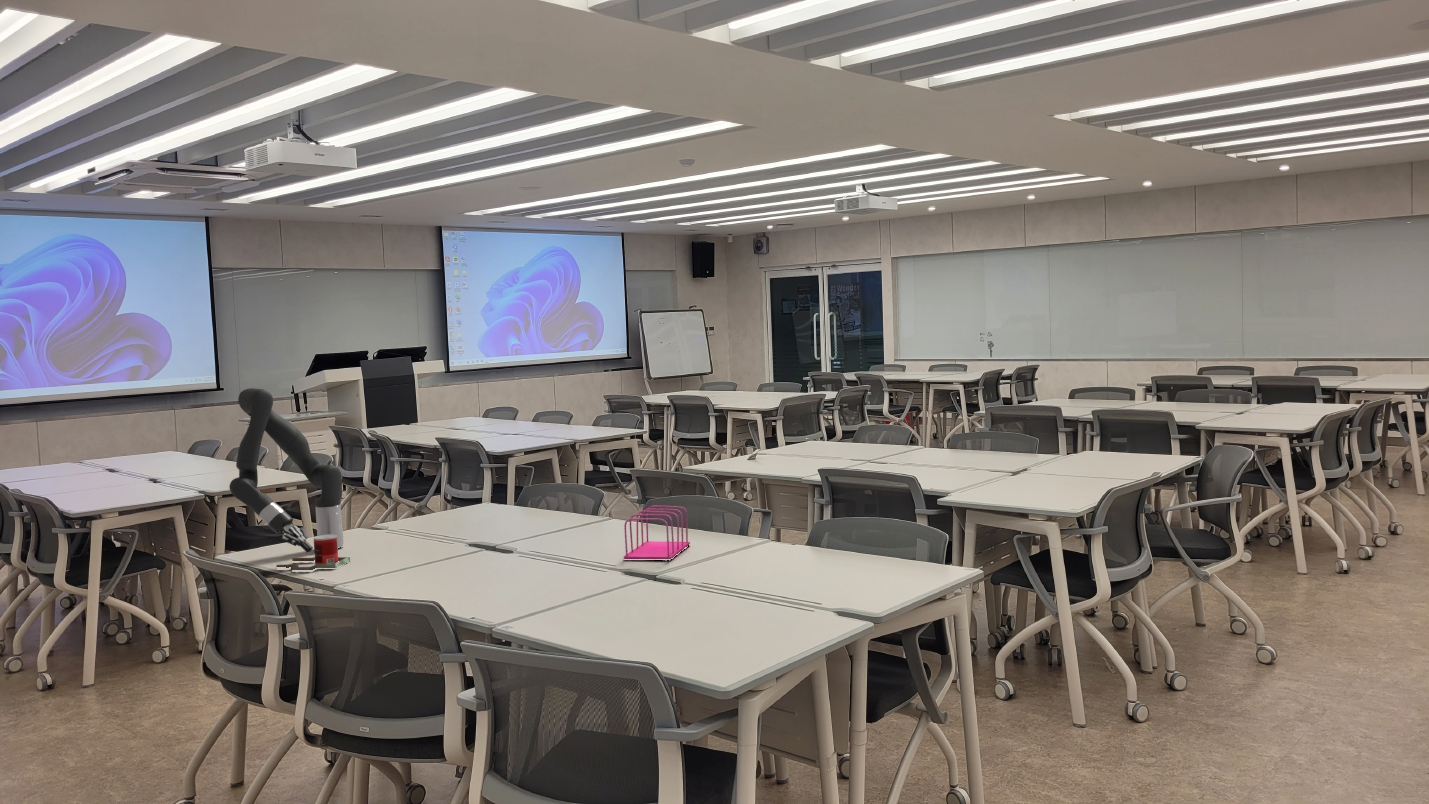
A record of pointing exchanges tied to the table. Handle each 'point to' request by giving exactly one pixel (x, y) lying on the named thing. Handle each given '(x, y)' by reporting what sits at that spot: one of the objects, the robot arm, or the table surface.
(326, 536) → the canned food
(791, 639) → the table surface
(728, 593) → the table surface
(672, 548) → the file sorter
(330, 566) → the trap track
